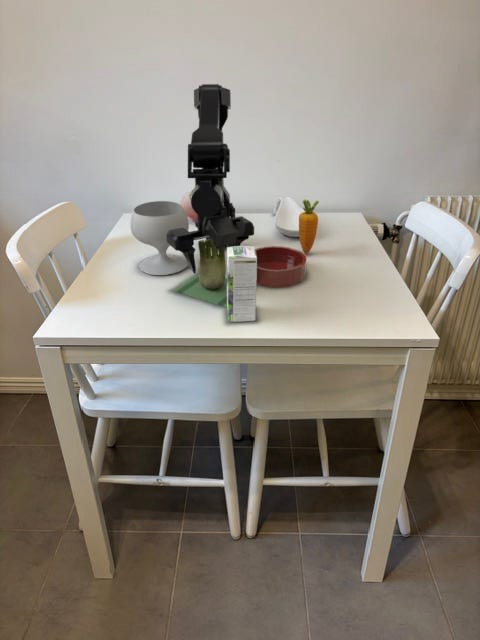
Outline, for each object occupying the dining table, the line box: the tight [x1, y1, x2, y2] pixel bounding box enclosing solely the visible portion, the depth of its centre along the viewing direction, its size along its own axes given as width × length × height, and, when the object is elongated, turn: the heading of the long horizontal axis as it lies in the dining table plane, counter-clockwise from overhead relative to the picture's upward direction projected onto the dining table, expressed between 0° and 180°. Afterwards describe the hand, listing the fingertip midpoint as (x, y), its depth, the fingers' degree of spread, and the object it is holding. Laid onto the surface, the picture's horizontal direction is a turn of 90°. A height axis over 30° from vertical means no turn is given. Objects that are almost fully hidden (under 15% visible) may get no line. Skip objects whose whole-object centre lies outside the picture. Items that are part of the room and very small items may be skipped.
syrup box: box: [226, 245, 257, 323], centre depth 98 cm, size 6×6×14 cm
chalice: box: [130, 200, 190, 276], centre depth 119 cm, size 14×14×15 cm
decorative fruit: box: [180, 188, 197, 221], centre depth 148 cm, size 9×8×10 cm
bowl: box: [255, 245, 307, 288], centre depth 117 cm, size 15×15×4 cm
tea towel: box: [172, 272, 227, 308], centre depth 112 cm, size 15×11×1 cm
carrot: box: [298, 198, 320, 255], centre depth 124 cm, size 5×5×15 cm
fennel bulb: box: [197, 239, 227, 290], centre depth 108 cm, size 6×5×12 cm
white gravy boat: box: [273, 196, 306, 238], centre depth 144 cm, size 24×12×7 cm, turn 10°
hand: (212, 268), depth 109 cm, fingers open, 9 cm apart
